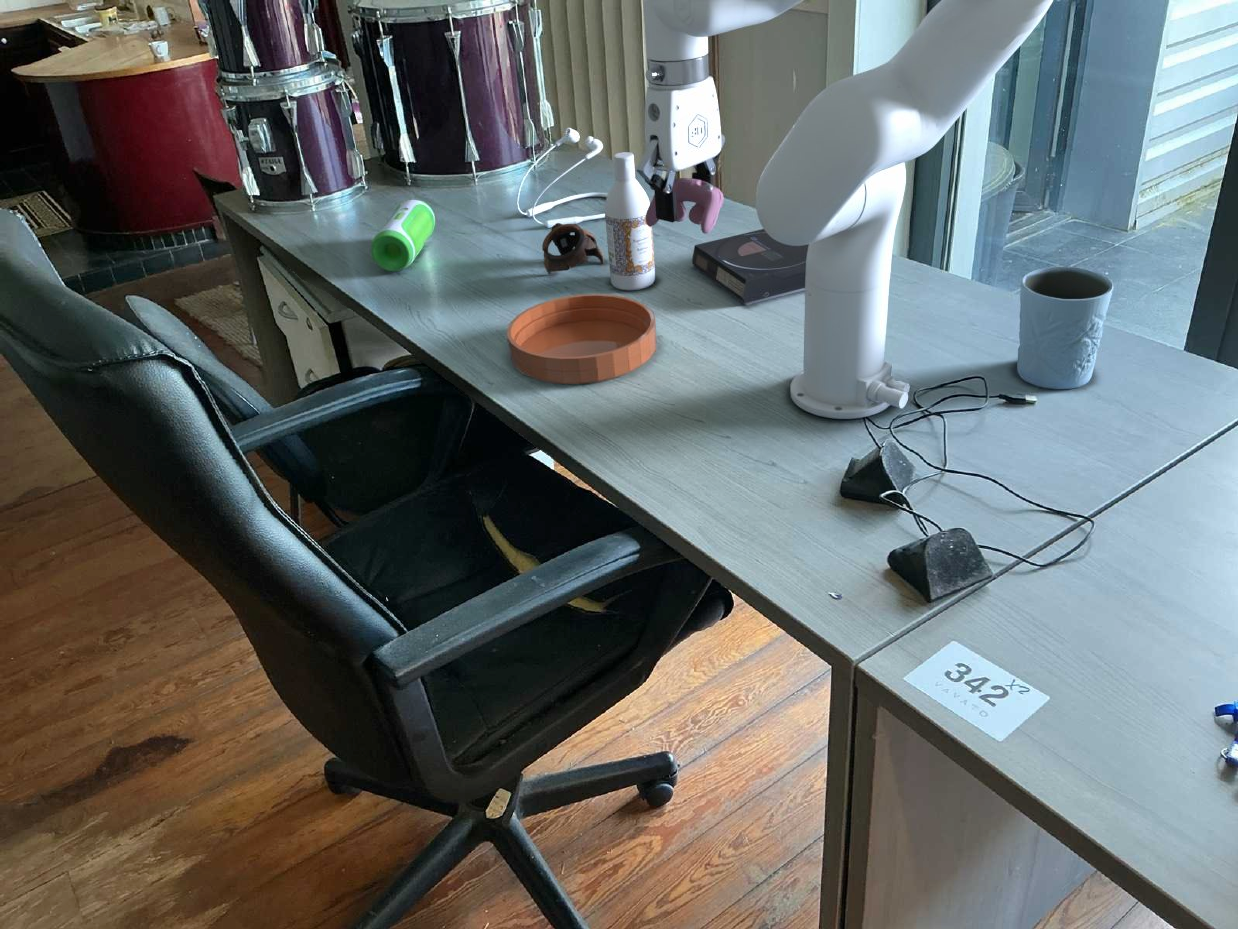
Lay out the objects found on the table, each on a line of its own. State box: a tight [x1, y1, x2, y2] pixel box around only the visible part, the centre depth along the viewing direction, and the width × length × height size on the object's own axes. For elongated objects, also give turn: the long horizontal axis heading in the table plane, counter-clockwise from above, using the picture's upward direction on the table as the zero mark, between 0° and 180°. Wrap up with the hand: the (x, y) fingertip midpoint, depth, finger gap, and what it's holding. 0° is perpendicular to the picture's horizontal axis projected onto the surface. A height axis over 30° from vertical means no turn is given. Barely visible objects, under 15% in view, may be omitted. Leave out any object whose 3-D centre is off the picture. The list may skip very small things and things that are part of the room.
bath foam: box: [604, 151, 656, 291], centre depth 157 cm, size 7×7×20 cm
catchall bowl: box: [506, 293, 658, 385], centre depth 143 cm, size 20×20×4 cm
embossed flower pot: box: [1016, 266, 1114, 390], centre depth 125 cm, size 10×10×12 cm
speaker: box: [371, 199, 436, 273], centre depth 178 cm, size 18×7×8 cm, turn 175°
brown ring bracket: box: [541, 223, 605, 276], centre depth 169 cm, size 12×10×8 cm
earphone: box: [516, 127, 608, 229], centre depth 190 cm, size 14×17×18 cm
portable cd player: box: [691, 228, 809, 306], centre depth 160 cm, size 16×17×4 cm
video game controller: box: [646, 177, 725, 235], centre depth 137 cm, size 10×5×7 cm, turn 58°
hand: (685, 210), depth 137 cm, fingers closed on video game controller, 6 cm apart
